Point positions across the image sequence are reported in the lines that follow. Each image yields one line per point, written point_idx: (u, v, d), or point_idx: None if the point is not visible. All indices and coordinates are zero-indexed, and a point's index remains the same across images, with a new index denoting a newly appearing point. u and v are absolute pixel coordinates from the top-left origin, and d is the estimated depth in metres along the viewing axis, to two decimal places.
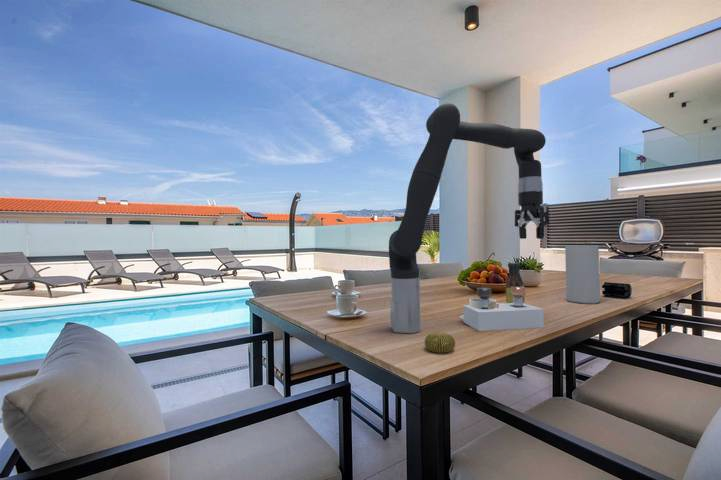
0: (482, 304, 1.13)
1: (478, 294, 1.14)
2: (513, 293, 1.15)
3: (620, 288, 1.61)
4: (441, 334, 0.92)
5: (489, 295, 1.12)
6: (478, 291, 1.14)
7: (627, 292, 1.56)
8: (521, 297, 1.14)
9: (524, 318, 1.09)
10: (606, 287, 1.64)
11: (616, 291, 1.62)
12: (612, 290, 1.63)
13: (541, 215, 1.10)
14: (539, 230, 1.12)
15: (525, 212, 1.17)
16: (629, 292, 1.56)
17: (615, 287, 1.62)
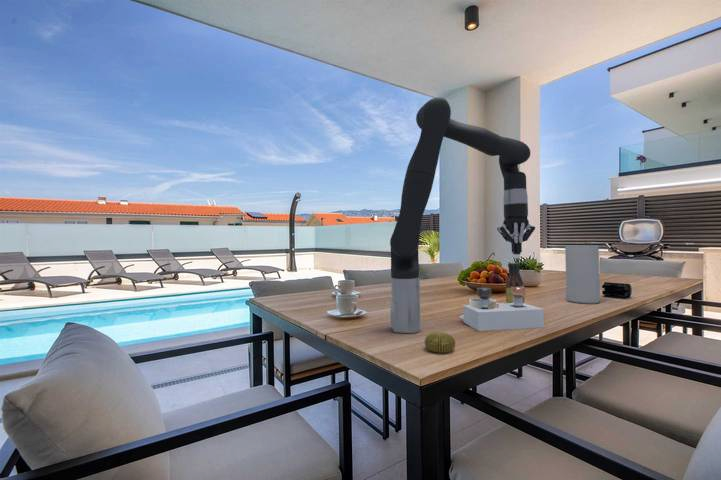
0: (482, 304, 1.13)
1: (478, 294, 1.14)
2: (513, 293, 1.15)
3: (620, 288, 1.61)
4: (441, 334, 0.92)
5: (489, 295, 1.12)
6: (478, 291, 1.14)
7: (627, 292, 1.56)
8: (521, 297, 1.14)
9: (524, 318, 1.09)
10: (606, 287, 1.64)
11: (616, 291, 1.62)
12: (612, 290, 1.63)
13: (530, 233, 1.15)
14: (520, 246, 1.15)
15: (515, 223, 1.14)
16: (629, 292, 1.56)
17: (615, 287, 1.62)
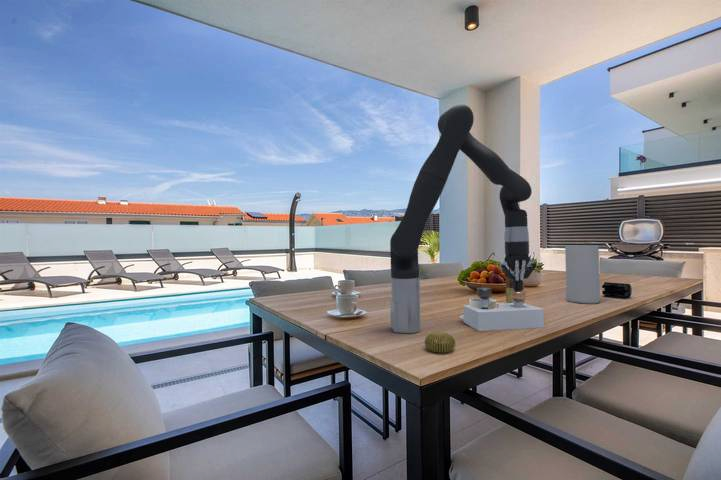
0: (482, 304, 1.13)
1: (478, 294, 1.14)
2: (513, 297, 1.15)
3: (620, 288, 1.61)
4: (441, 334, 0.92)
5: (489, 295, 1.12)
6: (478, 291, 1.14)
7: (627, 292, 1.56)
8: (521, 301, 1.14)
9: (524, 318, 1.09)
10: (606, 287, 1.64)
11: (616, 291, 1.62)
12: (612, 290, 1.63)
13: (531, 271, 1.15)
14: (521, 283, 1.15)
15: None
16: (629, 292, 1.56)
17: (615, 287, 1.62)
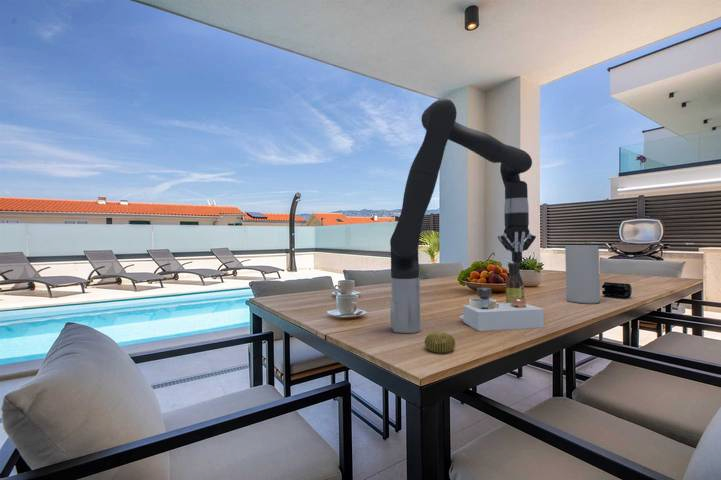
0: (482, 304, 1.13)
1: (478, 294, 1.14)
2: (513, 305, 1.15)
3: (620, 288, 1.61)
4: (441, 334, 0.92)
5: (489, 295, 1.12)
6: (478, 291, 1.14)
7: (627, 292, 1.56)
8: None
9: (524, 318, 1.09)
10: (606, 287, 1.64)
11: (616, 291, 1.62)
12: (612, 290, 1.63)
13: (530, 243, 1.15)
14: (521, 255, 1.15)
15: (516, 232, 1.14)
16: (629, 292, 1.56)
17: (615, 287, 1.62)
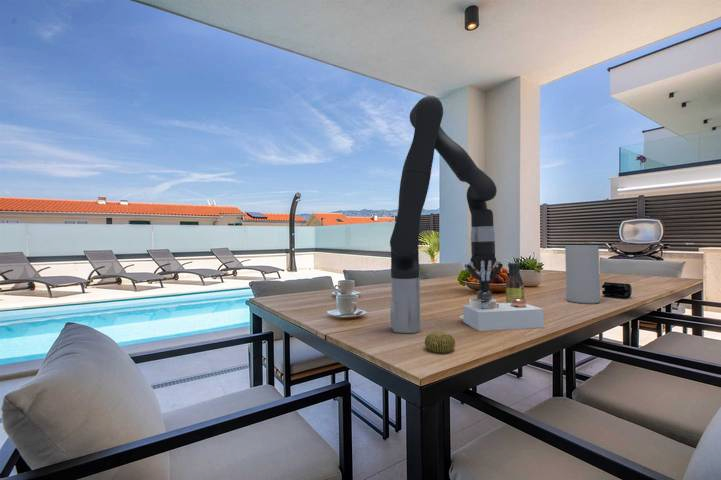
0: (482, 307, 1.13)
1: (478, 297, 1.14)
2: (513, 305, 1.15)
3: (620, 288, 1.61)
4: (441, 334, 0.92)
5: (489, 298, 1.12)
6: (478, 294, 1.14)
7: (627, 292, 1.56)
8: None
9: (524, 318, 1.09)
10: (606, 287, 1.64)
11: (616, 291, 1.62)
12: (612, 290, 1.63)
13: (497, 271, 1.14)
14: (488, 284, 1.14)
15: (482, 260, 1.13)
16: (629, 292, 1.56)
17: (615, 287, 1.62)
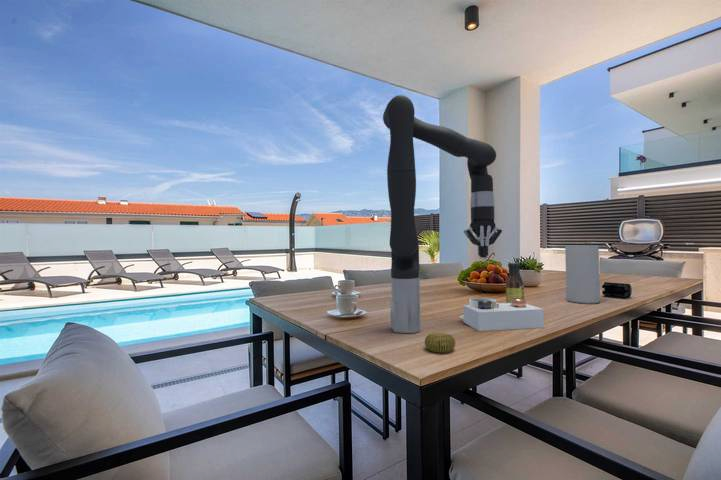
0: None
1: (478, 306, 1.14)
2: (513, 305, 1.15)
3: (620, 288, 1.61)
4: (441, 334, 0.92)
5: (489, 307, 1.12)
6: (478, 303, 1.14)
7: (627, 292, 1.56)
8: None
9: (524, 318, 1.09)
10: (606, 287, 1.64)
11: (616, 291, 1.62)
12: (612, 290, 1.63)
13: (496, 237, 1.14)
14: (487, 249, 1.14)
15: (482, 226, 1.13)
16: (629, 292, 1.56)
17: (615, 287, 1.62)
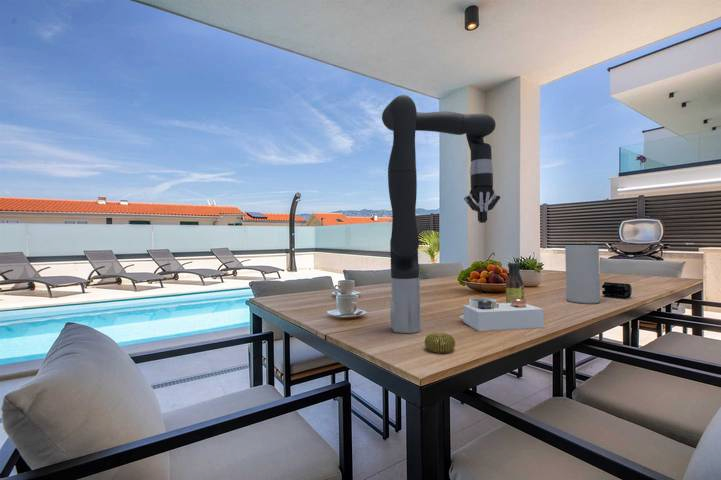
0: None
1: (478, 306, 1.14)
2: (513, 305, 1.15)
3: (620, 288, 1.61)
4: (441, 334, 0.92)
5: (489, 307, 1.12)
6: (478, 303, 1.14)
7: (627, 292, 1.56)
8: None
9: (524, 318, 1.09)
10: (606, 287, 1.64)
11: (616, 291, 1.62)
12: (612, 290, 1.63)
13: (495, 203, 1.20)
14: (486, 215, 1.20)
15: None
16: (629, 292, 1.56)
17: (615, 287, 1.62)
